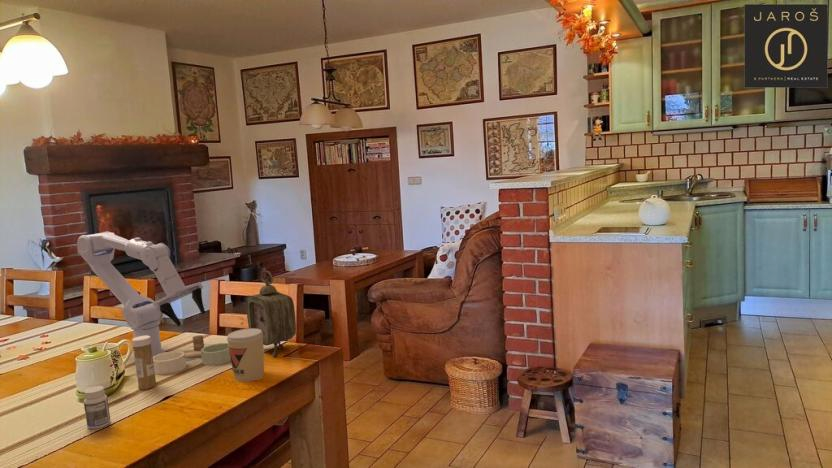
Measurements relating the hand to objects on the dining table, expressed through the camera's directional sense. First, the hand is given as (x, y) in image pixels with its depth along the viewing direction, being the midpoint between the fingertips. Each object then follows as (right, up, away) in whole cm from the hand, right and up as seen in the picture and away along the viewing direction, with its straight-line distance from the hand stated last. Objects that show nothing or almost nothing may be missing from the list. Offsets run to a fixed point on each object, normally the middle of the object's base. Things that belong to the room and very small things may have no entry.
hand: (191, 319), depth 178 cm
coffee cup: (+22, -13, -17) cm, 31 cm away
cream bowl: (-4, -13, -7) cm, 16 cm away
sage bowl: (+9, -12, -2) cm, 15 cm away
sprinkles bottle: (-4, -15, -20) cm, 25 cm away
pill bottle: (-5, -18, -42) cm, 46 cm away
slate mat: (0, -11, +6) cm, 13 cm away
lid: (0, -11, +6) cm, 13 cm away
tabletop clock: (+24, -10, +4) cm, 26 cm away
